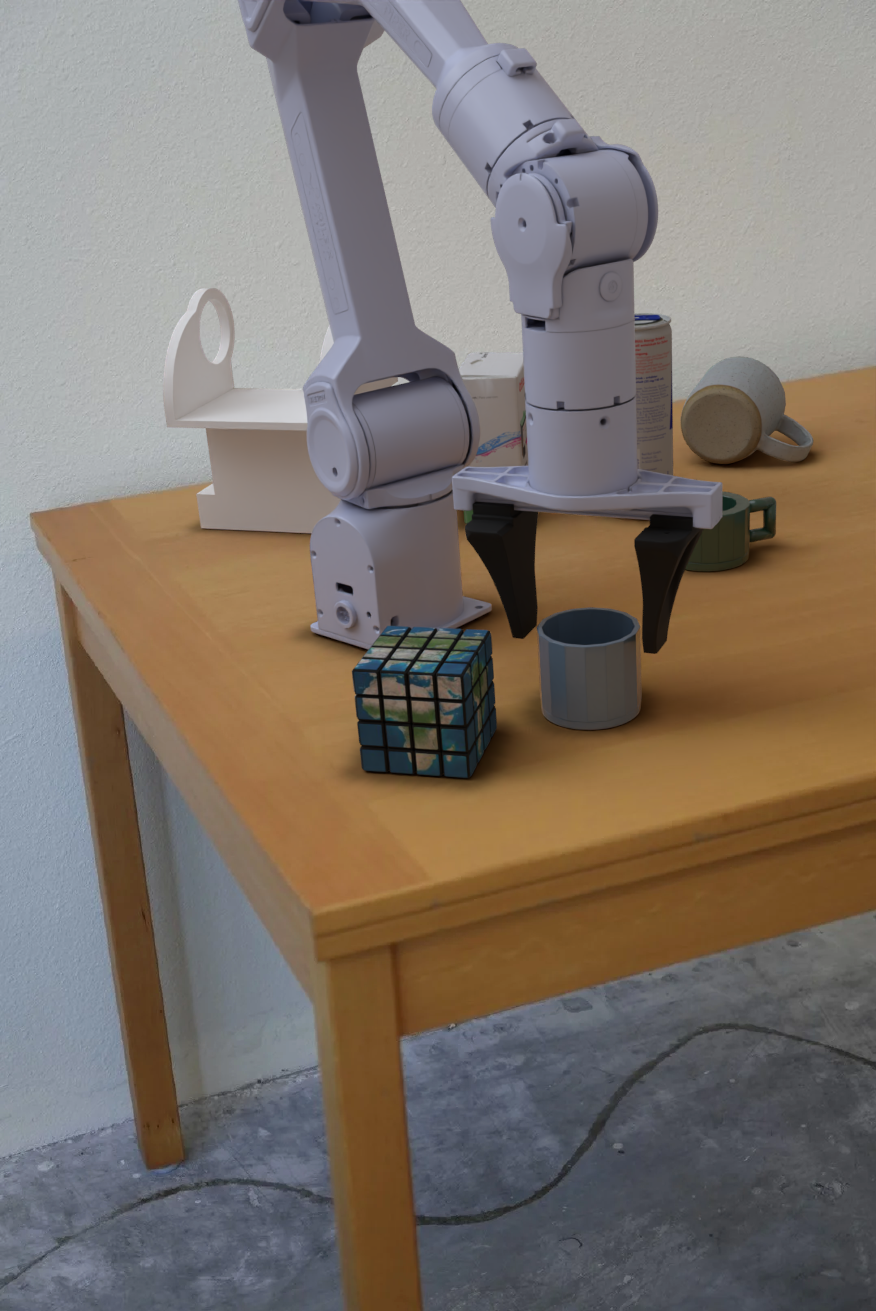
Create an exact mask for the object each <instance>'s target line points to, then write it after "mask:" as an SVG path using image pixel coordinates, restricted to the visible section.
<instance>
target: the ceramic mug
mask: <svg viewBox="0 0 876 1311" xmlns="http://www.w3.org/2000/svg"><path fill="white" fill-rule="evenodd" d="M786 406H787V400H786V391H785V389H784V386H783V384H782V382H781V380H780V378H779V376H778V375H777V374H776V373H775V372H774V371H773V370H772V369H771V368H770V366H768V365H766V364H765V363H763V362H762V361H760V360H758V359H756V358H752V357H749V356H730V357H727V358H724V359H722V360H718V362H716V363H714V364H712V366H711V367H710V368H709V369H708V370H707V371H706V372H705V373H704V375H703V376H702V377H701V379H700V380H699V381H698V383H697V384H696V385H695V387H694V388H693V389H692V390H691V391H690V393H689V394H688V396H687V397H686V400H685V401H684V404H683V406H682V409H681V414H680V430H681V434H682V438H683V440H684V442H685V444H686V445H687V447H688V448H689V449H690V450H691V451H692V452H693V453H694V455H696V456H697V457H699V458H701V459H702V460H705V461H706V462H709V463H711V464H712V463H713V464H719V465H728V464H729V465H730V464H733V463H737V462H740V461H742V460H744V459H746V458H748V457H750V456H751V455H752V454H754V453H755V452H756V451H759V452H761V453H762V454H765V455H767V456H769V457H772V458H774V459H777V460H780V461H783V462H790V463H795V462H798V463H799V462H801V461H804V460H805V459H807V457H808V455H809V454H810V451H811V449H812V447H813V445H814V436H812V433H811V432H809V430H808V429H806V427H804V426H803V425H802V424H800V423H799V422H798V421H796V419H794V418H792V417H790V416H788V415H787V414H785V411H786ZM774 432H778V433H780V434H782V435H783V436H785V437H787V438H788V439H790V440H791V441H793V442H794V443H795V444H796V445H793V444H791V443H790V444H789V443H787V442H783V441H782V440H779V439H777V438H774V437H772V436H771V435H772V434H773V433H774Z"/></svg>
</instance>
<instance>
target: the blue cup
mask: <svg viewBox="0 0 876 1311" xmlns="http://www.w3.org/2000/svg"><path fill="white" fill-rule="evenodd" d="M641 640H642V637H641V625H640V623H639V620H638V618H637V617H635V616H633V615H631V614H630V613H629V612H626V611H623V610H622V611H621V610H619V609H614V608H610V607H609V608H607V607H595V606H594V607H591V606H589V607H578V608H570V609H565V610H562V611H558V612H557V611H556V612H554V613H552V614H551V615H548V616H547V617H544V618H542V619H541V620H540V622H539V623H538V624H537V626H536V641H537V659H538V662H537V663H538V678H539V679H538V680H539V682H538V683H539V700H540V708H541V713H542V715H543V717H544V718H545V719H547V720H548V721H549V722H550V723H552V724H554V725H557V726H559V727H563V728H567V729H571V730H581V731H596V730H597V731H598V730H605V729H610V728H611V729H612V728H616V727H619V726H622V725H625V724H627V723H628V722H630V721H633V719H635V718H636V717H637V716H638V715H639V713H640V712H641V710H642V699H643V698H642V697H643V696H642V695H643V693H642V647H641V646H642V644H641V643H642V642H641Z"/></svg>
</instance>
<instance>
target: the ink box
mask: <svg viewBox="0 0 876 1311" xmlns="http://www.w3.org/2000/svg"><path fill="white" fill-rule="evenodd" d="M458 369H459V372H460V375H461V377H462V380H463V382H464V384H465V386H466V388H467V390H468V392H469V393H470V395H471V396H472V398H473V400H474V402H475V405H476V408H477V411H478V415H479V420H480V441H479V446H478V451H477V454H476V456H475V458H474V460H473V462H472V463H471V464H470V465H469V466H467V467H509V466H528V446H527V426H526V406H525V384H524V364H523V351H520V352H518V351H516V352H515V351H514V352H513V351H511V352H510V351H474V352H469V353H468V354H467V356H466V357H465V358H464V361H462V363H461V364H460V366H458ZM472 514H473V510H471V511H464V510H463V521H464V524H465V525H466V524H467V523H469V522H470V521H471V520H472Z"/></svg>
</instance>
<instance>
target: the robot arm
mask: <svg viewBox="0 0 876 1311" xmlns="http://www.w3.org/2000/svg"><path fill="white" fill-rule="evenodd" d="M237 4H238V7H239V11H240V15H241V19H242V22H243V23H242V24H243V25H244V28H245V32H246V37H247V41H248V45H249V47H250V49H252V50H253V51H255V52H257V53H258V54H260V55H262V56H263V57H264V58H265V59H266V64H267V69H268V71H269V72H268V73H269V77H270V81H271V85H272V89H273V94H274V98H275V102H276V106H277V111H278V114H279V115H278V116H279V119H280V124H281V127H282V131H283V135H284V140H285V144H286V149H287V153H288V157H289V161H290V165H291V170H292V173H293V177H294V182H295V186H296V190H297V194H298V199H299V203H300V207H301V211H302V215H303V216H302V217H303V219H304V224H305V228H306V233H307V236H308V241H309V244H310V249H311V253H312V256H313V257H312V258H313V261H314V266H315V270H316V275H317V279H318V283H319V288H320V291H321V295H322V299H323V304H324V307H325V313H326V317H327V320H328V326H329V325H330V329H331V333H332V338H333V342H334V344H333V346H332V347H331V348H330V350H329V351H328V353H327V354H326V355H325V357H324V358H323V359H322V361H321V362H320V363H319V362H318V365H317V366H316V367H315V368H314V370H313V371H312V372H311V373H310V375H309V376H308V378H307V379H306V381H305V383H304V384H303V386H302V389H303V392H304V399H305V405H306V412H307V447H308V452H309V457H310V460H311V463H312V466H313V469H314V471H315V473H316V475H317V477H318V478H319V480H320V481H321V483H322V484H323V485H324V486H325V487H326V488H327V489H328V490H329V491H330V492H331V493H332V495H334V496H336V497H337V498H339V499H341V500H340V502H339V504H338V506H337V507H336V508H335V509H334V510H333V511H332V512H331V513H330V514H328V515H327V516H325V517H323V518H322V519H321V520H319V521H318V522H317V523H316V525H315V526H314V528H313V531H312V533H310V539H309V555H310V556H309V557H310V565H311V573H312V574H311V575H312V581H313V582H312V583H313V591H314V600H315V609H316V616H317V621H315V622H313V623H310V626H309V628H310V632H311V633H313V634H317V635H320V636H322V637H323V636H324V637H327V638H331V639H333V640H336V641H339V642H343V643H346V644H349V645H353V646H355V647H359V648H362V649H365V650H367V651H368V650H369V648H370V647H371V646H372V645H373V643H374V642H375V641H376V639H377V638H378V637H379V636H380V634H381V633H382V632H383V631H384V629H385V628H386V627H387V626H404V627H411V629H412V628H413V627H428V628H437V631H438V629H439V628H452V629H458V628H459V627H462V626H463V625H466V624H468V623H470V622H472V621H474V620H475V619H478V618H481V617H482V616H483V615H486V614H488V613H490V612H491V611H492V610H493V608H492V607H493V606H492V603H490V602H488V601H483V600H480V599H476V598H473V597H468V596H465V595H464V594H463V592H464V591H463V580H462V578H463V577H462V566H461V565H462V564H461V550H460V536H459V524H458V522H459V521H458V511H463V512H464V511H471V510H473V514H472V520H471V521H470V522H469V523H467V524H465V525H464V532H465V537H466V538H465V539H466V541H467V542H468V543H469V545H470V546H471V547H472V548H473V550H474V551H475V553H476V554H477V556H478V557H479V559H480V560H481V562H482V564H483V565H484V567H485V568H486V570H487V572H488V574H489V576H490V578H491V580H492V582H493V584H494V586H495V589H496V591H497V594H498V596H499V599H500V601H501V604H502V607H503V609H504V613H505V616H506V619H507V622H508V625H509V629H510V632H511V636H512V638H513V639H519V640H524V639H525V638H526V637H528V635H529V634H530V633H531V632H532V631H533V630H534V629H535V628H537V626H538V609H539V608H538V595H537V594H538V592H537V580H536V544H537V543H536V542H537V531H538V530H537V529H538V521H539V513H548V514H560V515H561V514H563V515H574V516H575V515H576V516H589V517H600V518H601V517H602V518H615V519H630V520H643V521H649V525H648V526H646V527H644V529H642V530H641V531H640V532H639V534H638V535H637V536H636V537H634V539H633V540H634V543H633V544H634V551H635V555H636V560H637V565H638V570H639V578H640V585H641V596H642V597H641V598H642V618H641V640H642V642H641V643H642V649H643V653H644V654H650V655H651V654H652V655H656V654H658V653H659V652H660V651H661V649H662V648H663V647H664V645H665V644H666V643H667V641H668V634H669V629H670V621H671V616H672V613H673V607H674V605H675V600H676V596H677V595H678V594H677V593H678V591H679V587H680V584H681V581H682V578H683V576H684V574H685V568H686V566H687V563H688V561H689V559H690V557H691V554H692V552H693V550H694V548H695V546H696V544H697V542H698V540H699V538H700V536H701V534H702V532H703V530H704V529H712V528H713V527H714V526H715V525H716V524H717V523H718V522H719V521H720V519H721V518H722V491H723V485H724V484H723V482H721V481H709V480H702V479H695V478H694V479H693V478H688V477H683V476H677V475H674V474H673V475H667V474H662V473H657V472H652V471H646V470H641V469H637V421H636V366H635V316H634V314H635V271H634V270H635V269H634V268H635V265H634V263H635V262H637V261H639V260H641V258H643V257H644V256H645V255H646V253H647V252H648V251H649V249H650V247H651V246H652V244H653V242H654V239H655V237H656V233H657V228H658V224H659V222H658V221H659V203H658V202H659V200H658V194H657V191H656V187H655V183H654V181H653V178H652V176H651V174H650V172H649V170H648V169H647V167H646V165H645V164H644V162H643V159H642V158H641V155H640V154H639V153H638V151H637V150H635V149H634V148H632V147H630V146H628V145H625V144H620V143H612V144H611V143H610V144H609V143H607V142H605V141H604V140H603V139H602V137H601V136H600V135H589V134H588V133H587V132H586V130H585V129H584V128H583V127H582V126H581V124H580V123H579V121H577V119H576V118H575V117H574V115H573V114H572V113H571V111H570V110H569V108H567V106H566V105H565V104H564V103H563V101H562V100H561V99H560V97H559V96H558V95H557V93H556V92H555V91H554V90H553V88H552V87H551V86H550V84H549V83H548V81H546V79H545V78H544V77H543V75H542V74H541V72H540V71H539V70H538V69H537V66H538V63H537V61H536V59H535V58H534V56H532V54H531V53H530V52H529V51H528V49H527V48H525V47H521V48H519V47H518V46H516V45H514V44H511V43H507V42H493V43H488V42H487V40H486V38H485V37H484V35H483V34H482V32H481V30H480V28H479V27H478V26H477V24H476V22H475V21H474V19H473V18H472V16H471V15H470V13H469V12H468V10H467V8H466V6H465V5H464V3H463V1H462V0H237ZM384 33H386V34H387V36H389V37H390V39H392V41H393V42H394V43H395V44H396V45H397V47H398V48H400V50H401V51H402V52H403V53H404V55H405V56H406V57H407V58H408V59H409V60H410V61H411V62H412V64H414V66H415V67H416V68H417V69H418V70H419V71H420V73H421V74H422V75H423V76H424V77H425V78H426V79H427V80H428V82H429V83H430V84H431V85H432V86H433V87H434V88H435V92H434V95H433V98H432V105H431V115H432V120H433V123H434V125H435V127H436V129H438V131H439V132H440V133H441V135H442V136H443V138H444V139H445V141H446V142H447V143H448V145H449V146H450V148H451V149H452V151H454V153H455V155H456V156H457V157H458V158H459V160H460V161H461V163H462V164H463V165H464V167H465V168H466V170H467V171H468V172H469V174H470V175H471V177H472V178H473V179H474V181H475V183H476V184H477V185H478V186H479V188H480V189H481V190H482V192H483V193H484V194H485V196H486V197H487V199H488V200H489V201H490V202H491V204H492V206H493V207H494V208H495V210H494V211H495V212H494V216H492V217H490V219H489V220H490V221H489V222H490V230H491V235H492V240H493V244H494V247H495V250H496V252H497V255H498V257H499V260H500V261H501V263H502V265H503V268H504V269H505V272H506V276H507V281H508V294H509V302H511V303H512V307H513V311H514V312H515V313H516V314H519V315H520V319H521V320H520V322H521V339H522V340H521V341H522V352H523V364H524V384H525V406H526V426H527V446H528V466H509V467H467V466H469V465H470V464H471V463H472V462H473V460H474V458H475V456H476V454H477V451H478V446H479V441H480V420H479V415H478V411H477V408H476V405H475V402H474V400H473V398H472V396H471V395H470V393H469V392H468V390H467V388H466V386H465V384H464V382H463V380H462V377H461V375H460V372H459V365H458V361H457V356H456V353H455V351H454V350H453V349H451V348H450V347H449V346H447V345H445V344H444V343H442V342H441V341H439V340H437V339H436V338H434V337H432V336H431V335H429V334H428V333H426V332H425V331H423V330H421V329H420V328H418V327H417V325H416V323H415V318H414V315H413V309H412V305H411V301H410V297H409V291H408V287H407V282H406V279H405V274H404V271H403V265H402V261H401V256H400V251H399V248H398V244H397V239H396V235H395V230H394V226H393V221H392V217H391V213H390V208H389V205H388V200H387V194H386V192H385V186H384V183H383V178H382V172H381V168H380V165H379V161H378V156H377V152H376V147H375V142H374V139H373V138H374V137H373V133H372V130H371V125H370V120H369V116H368V112H367V107H366V103H365V98H364V95H363V91H362V85H361V83H360V82H361V81H360V77H359V73H358V63H359V61H360V59H361V56H362V54H363V51H364V49H366V48H367V47H368V46H369V45H371V44H373V43H374V42H376V41H377V40H379V39H380V38H381V37H382V36H383V34H384ZM392 377H398V378H402V379H404V380H406V381H408V382H404V383H399V384H394V385H392V386H390V387H386V388H381V389H377V390H373V391H368V392H364V393H360V394H355V395H354V393H355V392H356V390H357V389H358V388H359V387H360V386H361V385H363V384H365V383H370V382H374V381H379V380H383V379H388V378H392Z"/></svg>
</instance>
